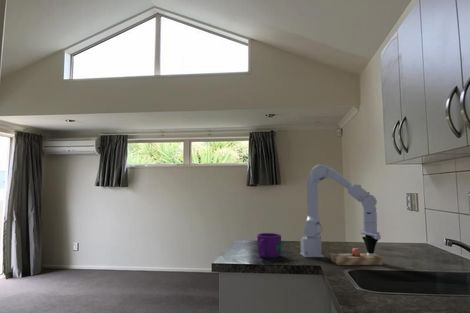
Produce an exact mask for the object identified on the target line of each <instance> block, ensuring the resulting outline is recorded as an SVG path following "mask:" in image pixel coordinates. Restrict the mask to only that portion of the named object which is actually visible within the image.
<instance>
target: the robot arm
mask: <svg viewBox="0 0 470 313" xmlns="http://www.w3.org/2000/svg"><path fill="white" fill-rule="evenodd" d="M324 179H332V180H333V181H335V182H337V183H338V184H340V185H341V186H342V187H344V188H345V189H346V190H347V194H348V195H349V196H351V198H354V199H355V200H356V201H357V202H359V203H361V205H362V209H363V210H362V229H361V230H360V234H361V235H363V236H362V237H361V238H362V240H363V242H364V245H365V248H366V251H367V252H368V253H369V254H373V253H374V254H375V249H376V245H377V243H378V242H379V240H381V237H382V235H381V233H380V232H379V231H378V219H377V217H378V216H377V214H378V213H377V202H378V201H377V199H376V197H375V196H374V195H373V194H371V192H369V191H366V190H365V189H364V188H362V185H360V184H358V183H352V182H350V181H349V180H348V179H347V178H345V177H344V176H343V175H342V174H340V172H338V171H337V170H335V169H333V168H331V167H330V166H329V165H327V164H322V163H319V164H316V165H315V166H313V167H312V168H311V171H310V172H309V175H308V177H307V178H306V207H307V209H306V210H307V211H306V212H307V218H306V220H305V226H304V228H303V229H304V230H303V231H304V234H305V236H302V237H301V238H300V255H301V256H302V257H304V258H325V256H324V255H323V254H322V235H321V233H322V231H323V227H322V224H321V220H320V217H319V198H318V197H319V194H318V193H319V192H318V185H319V183H320V182H321V181H322V180H324ZM367 252H366V253H367Z"/></svg>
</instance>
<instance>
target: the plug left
mask: <svg viewBox="0 0 470 313" xmlns="http://www.w3.org/2000/svg"><path fill="white" fill-rule="evenodd" d="M337 254H338V256H339V257H346V254H347V253H337Z"/></svg>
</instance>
